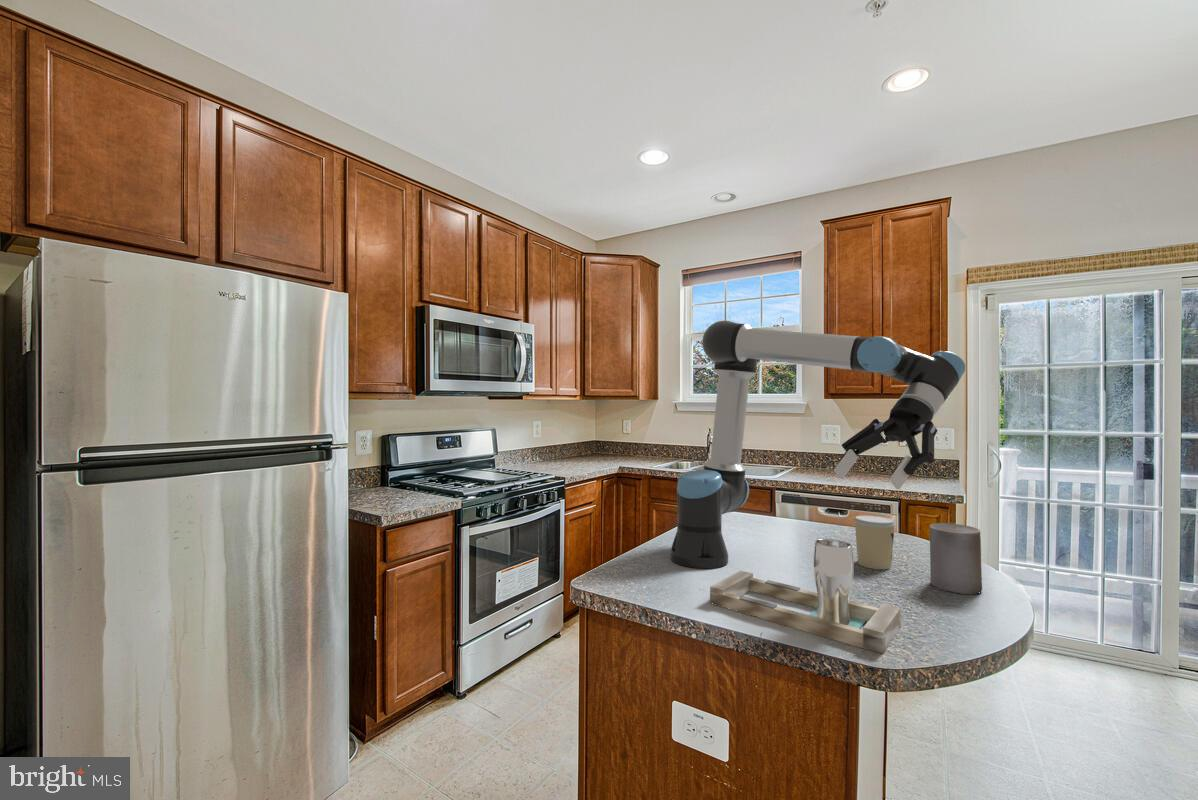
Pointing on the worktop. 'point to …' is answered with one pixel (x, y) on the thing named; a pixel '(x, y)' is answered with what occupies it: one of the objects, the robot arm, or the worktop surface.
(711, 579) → the worktop surface
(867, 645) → the wooden serving tray
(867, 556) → the coffee cup
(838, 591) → the beer glass
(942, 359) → the robot arm
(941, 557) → the dark gray cylinder
